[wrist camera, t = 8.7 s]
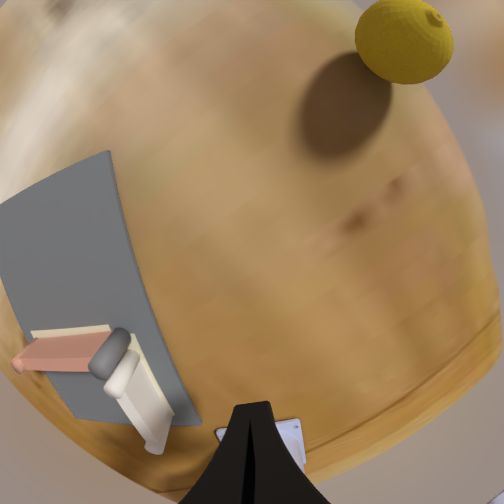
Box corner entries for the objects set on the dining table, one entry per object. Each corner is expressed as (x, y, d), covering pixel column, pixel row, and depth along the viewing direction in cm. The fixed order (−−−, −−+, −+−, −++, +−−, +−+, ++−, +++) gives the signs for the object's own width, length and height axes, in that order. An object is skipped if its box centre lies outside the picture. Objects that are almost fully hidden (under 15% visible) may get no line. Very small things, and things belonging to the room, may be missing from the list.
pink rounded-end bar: (126, 326, 18) (101, 360, 14) (134, 344, 18) (113, 380, 14) (31, 336, 19) (6, 360, 14) (39, 350, 19) (15, 375, 15)
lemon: (372, 108, 15) (445, 76, 7) (323, 44, 14) (366, -21, 6) (420, 81, 14) (490, 52, 7) (376, 23, 13) (428, -28, 5)
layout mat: (202, 421, 22) (195, 462, 17) (77, 415, 22) (61, 443, 18) (110, 150, 16) (67, 145, 11) (-13, 213, 16) (-48, 224, 11)
